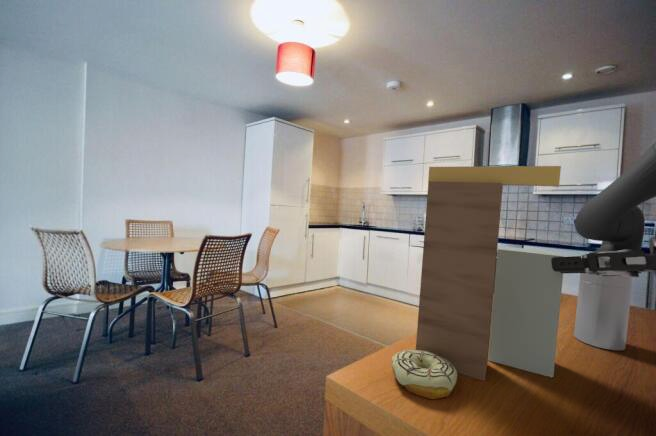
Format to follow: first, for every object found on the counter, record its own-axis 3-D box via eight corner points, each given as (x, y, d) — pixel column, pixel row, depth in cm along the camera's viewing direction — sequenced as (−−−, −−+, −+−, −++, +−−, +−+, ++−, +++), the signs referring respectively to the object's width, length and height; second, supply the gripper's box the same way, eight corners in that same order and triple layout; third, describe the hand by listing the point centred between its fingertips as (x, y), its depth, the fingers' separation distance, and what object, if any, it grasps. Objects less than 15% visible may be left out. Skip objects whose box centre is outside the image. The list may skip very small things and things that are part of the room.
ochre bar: (431, 183, 63) (432, 168, 63) (556, 186, 53) (558, 168, 53) (428, 182, 61) (429, 166, 60) (559, 184, 50) (560, 166, 50)
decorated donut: (392, 397, 48) (394, 373, 48) (389, 362, 59) (390, 343, 59) (464, 406, 47) (466, 382, 47) (447, 369, 57) (448, 349, 57)
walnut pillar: (423, 347, 66) (436, 184, 65) (487, 364, 60) (502, 186, 59) (414, 360, 60) (428, 181, 59) (484, 381, 54) (501, 182, 53)
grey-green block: (490, 345, 69) (498, 245, 68) (548, 360, 64) (558, 252, 63) (488, 360, 62) (497, 249, 61) (553, 377, 57) (564, 256, 56)
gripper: (688, 239, 48) (557, 247, 58) (710, 225, 37) (545, 238, 48) (700, 290, 46) (563, 288, 57) (726, 290, 36) (552, 289, 46)
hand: (555, 265), depth 52 cm, fingers open, 8 cm apart
